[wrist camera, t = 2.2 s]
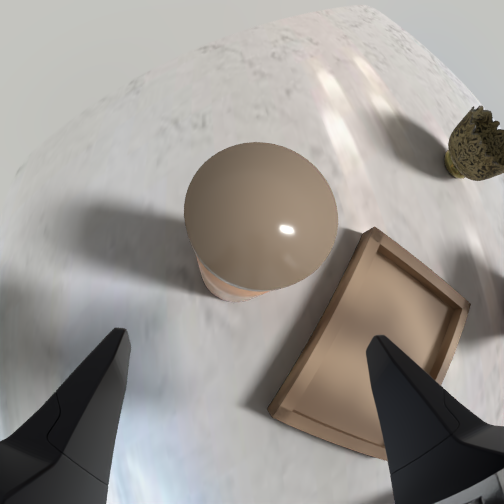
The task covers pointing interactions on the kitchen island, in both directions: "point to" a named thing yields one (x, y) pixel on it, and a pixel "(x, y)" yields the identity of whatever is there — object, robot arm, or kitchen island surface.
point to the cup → (476, 147)
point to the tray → (360, 335)
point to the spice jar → (258, 220)
